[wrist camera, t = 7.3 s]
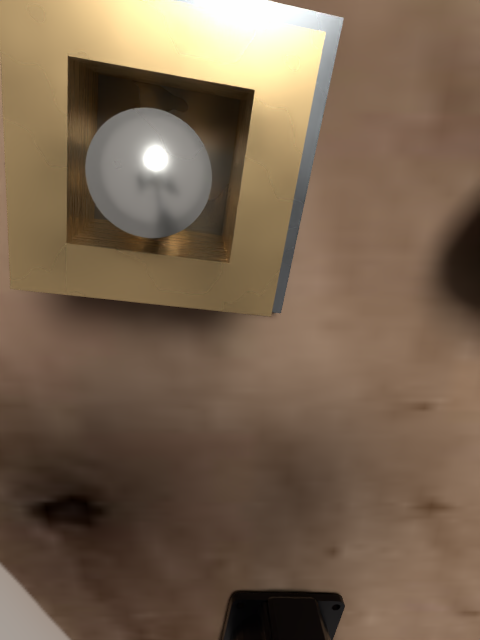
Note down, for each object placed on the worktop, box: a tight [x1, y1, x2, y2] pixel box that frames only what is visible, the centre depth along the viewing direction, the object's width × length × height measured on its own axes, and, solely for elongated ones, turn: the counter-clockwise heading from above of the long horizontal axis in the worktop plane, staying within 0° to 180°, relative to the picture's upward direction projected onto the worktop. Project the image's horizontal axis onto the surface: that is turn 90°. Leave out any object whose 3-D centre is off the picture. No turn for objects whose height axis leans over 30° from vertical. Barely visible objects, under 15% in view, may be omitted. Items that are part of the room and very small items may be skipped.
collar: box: [0, 0, 326, 317], centre depth 13 cm, size 7×7×4 cm
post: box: [85, 0, 344, 313], centre depth 13 cm, size 10×10×7 cm
